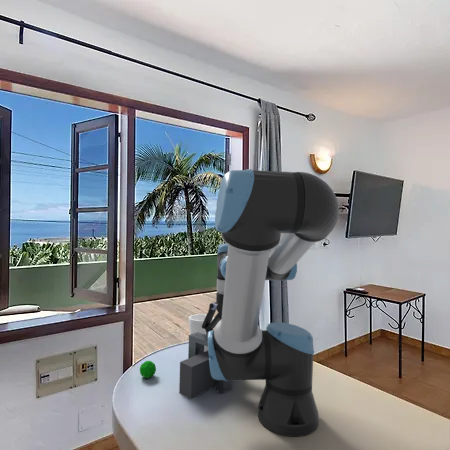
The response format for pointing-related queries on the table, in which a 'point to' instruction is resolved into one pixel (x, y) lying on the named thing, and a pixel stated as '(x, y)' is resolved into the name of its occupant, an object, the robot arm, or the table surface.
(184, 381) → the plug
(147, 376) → the polyhedron
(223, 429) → the table surface
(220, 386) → the grey arch
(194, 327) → the foam cup
